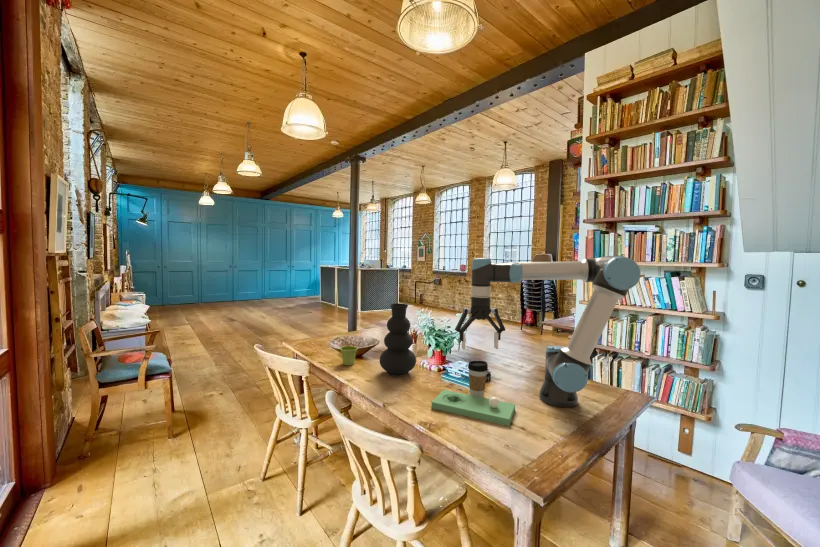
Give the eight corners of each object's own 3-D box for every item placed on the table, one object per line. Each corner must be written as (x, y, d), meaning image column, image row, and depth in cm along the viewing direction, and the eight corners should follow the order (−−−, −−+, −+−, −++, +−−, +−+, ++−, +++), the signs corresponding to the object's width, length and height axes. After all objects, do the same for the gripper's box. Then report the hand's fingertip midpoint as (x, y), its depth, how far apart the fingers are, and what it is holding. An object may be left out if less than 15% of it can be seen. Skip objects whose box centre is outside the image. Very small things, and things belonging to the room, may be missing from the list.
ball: (500, 406, 135) (500, 396, 135) (498, 410, 132) (498, 400, 131) (489, 404, 137) (490, 394, 137) (487, 408, 133) (487, 398, 133)
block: (515, 410, 138) (515, 404, 138) (509, 426, 125) (509, 419, 125) (443, 395, 150) (443, 389, 150) (431, 408, 138) (431, 402, 138)
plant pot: (351, 360, 195) (352, 344, 195) (360, 364, 188) (360, 348, 187) (336, 363, 189) (336, 347, 189) (345, 367, 182) (345, 351, 181)
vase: (403, 383, 163) (405, 309, 161) (371, 375, 172) (373, 305, 170) (422, 371, 179) (423, 304, 177) (392, 365, 188) (393, 300, 186)
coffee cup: (486, 401, 145) (488, 366, 144) (466, 399, 147) (467, 364, 146) (486, 393, 153) (487, 360, 152) (467, 391, 155) (468, 358, 154)
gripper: (507, 295, 145) (505, 345, 146) (448, 295, 142) (447, 346, 144) (514, 297, 138) (513, 350, 139) (452, 297, 135) (451, 351, 136)
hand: (479, 348), depth 141 cm, fingers open, 13 cm apart
